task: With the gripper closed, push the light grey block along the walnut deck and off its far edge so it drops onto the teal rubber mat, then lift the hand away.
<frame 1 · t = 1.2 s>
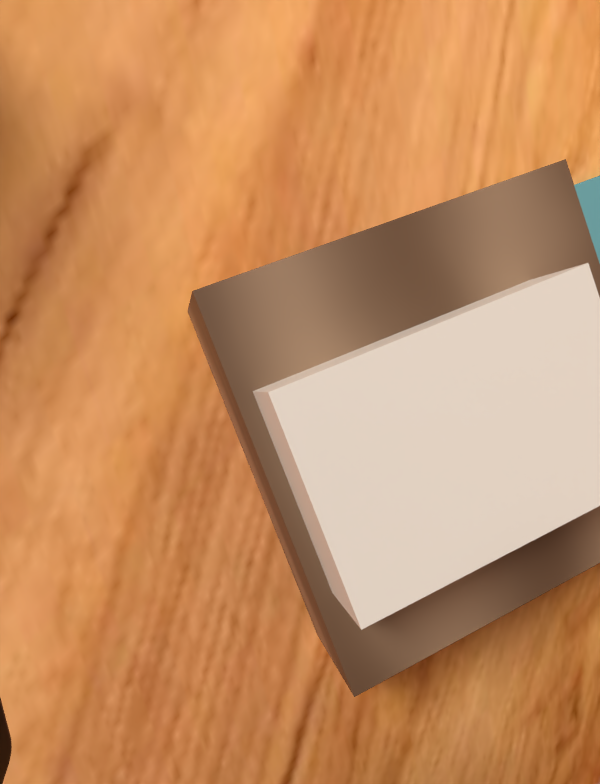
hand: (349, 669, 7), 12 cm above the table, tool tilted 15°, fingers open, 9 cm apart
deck: (407, 410, 20), on the table
light grey block: (455, 433, 15), point 5 cm above the table, touching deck
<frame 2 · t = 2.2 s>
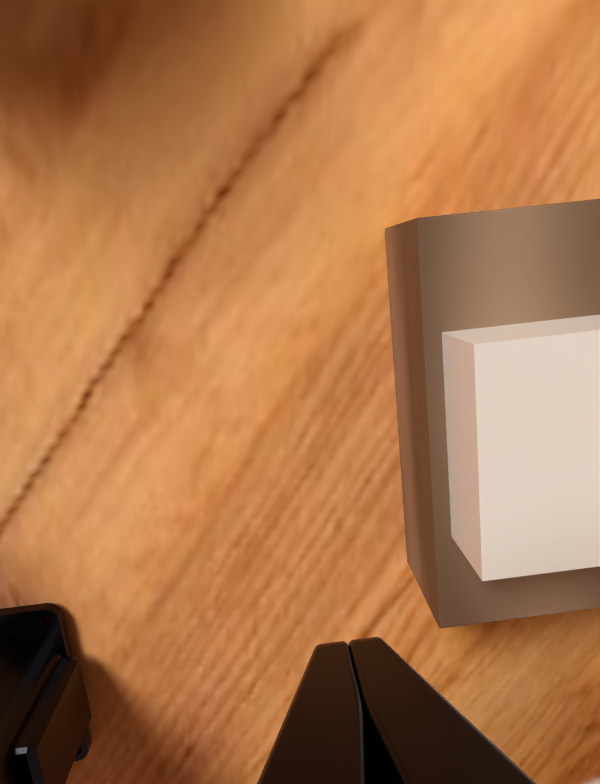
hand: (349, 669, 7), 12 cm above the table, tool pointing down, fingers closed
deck: (564, 386, 20), on the table
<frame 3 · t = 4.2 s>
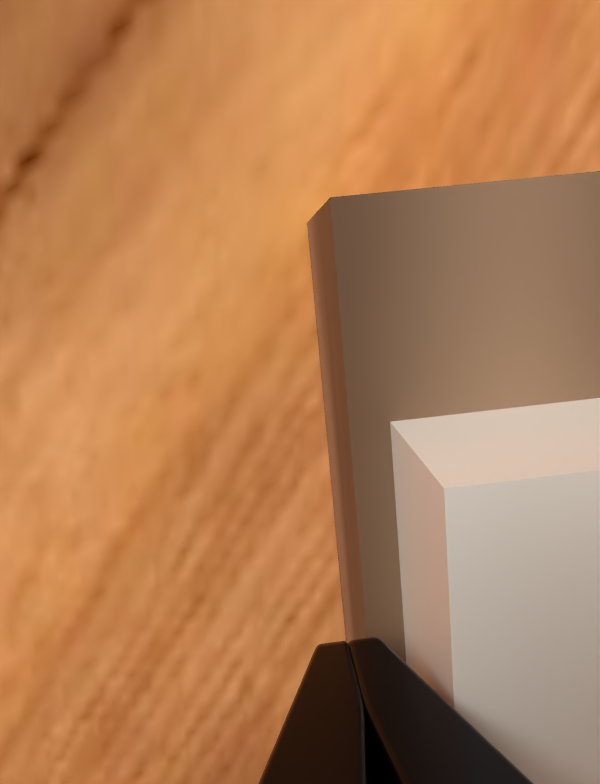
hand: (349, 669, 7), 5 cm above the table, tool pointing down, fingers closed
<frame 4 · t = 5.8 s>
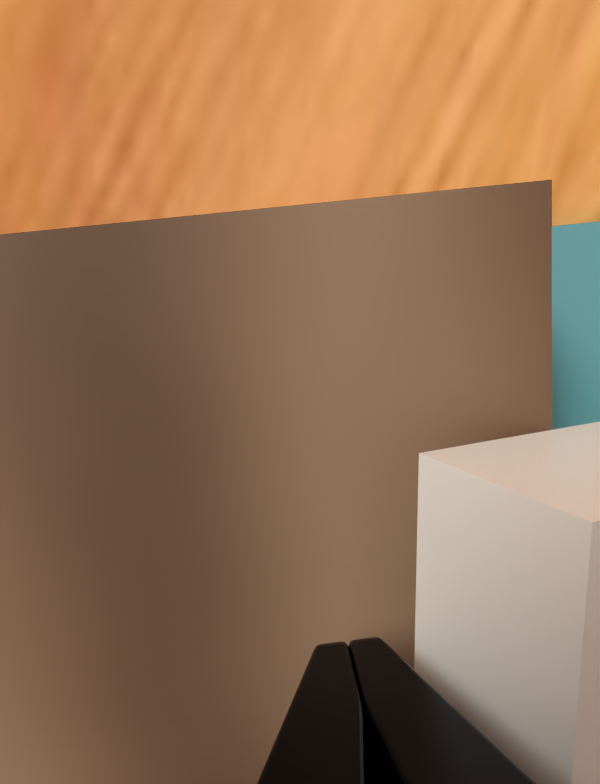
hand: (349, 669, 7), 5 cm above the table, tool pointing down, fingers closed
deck: (193, 523, 12), on the table
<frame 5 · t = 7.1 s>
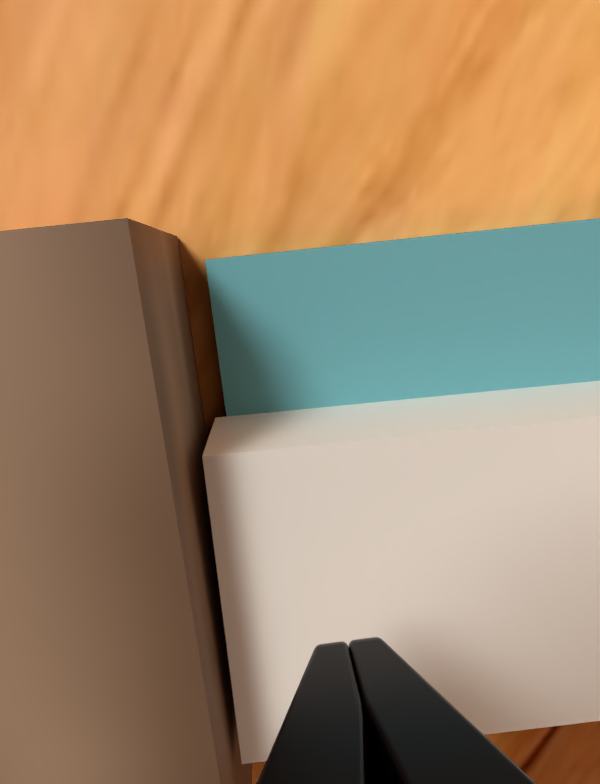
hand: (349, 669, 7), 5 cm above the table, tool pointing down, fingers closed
mat: (467, 490, 12), on the table
light grey block: (456, 558, 11), point 1 cm above the table, touching mat
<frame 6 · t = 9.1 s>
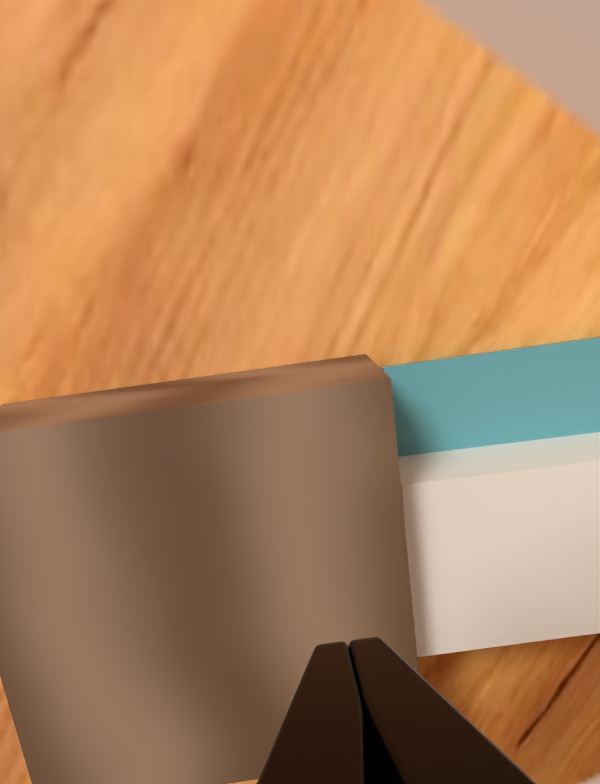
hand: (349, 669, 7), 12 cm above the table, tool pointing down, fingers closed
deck: (215, 543, 20), on the table
mat: (534, 497, 20), on the table
light grey block: (532, 538, 19), point 1 cm above the table, touching mat
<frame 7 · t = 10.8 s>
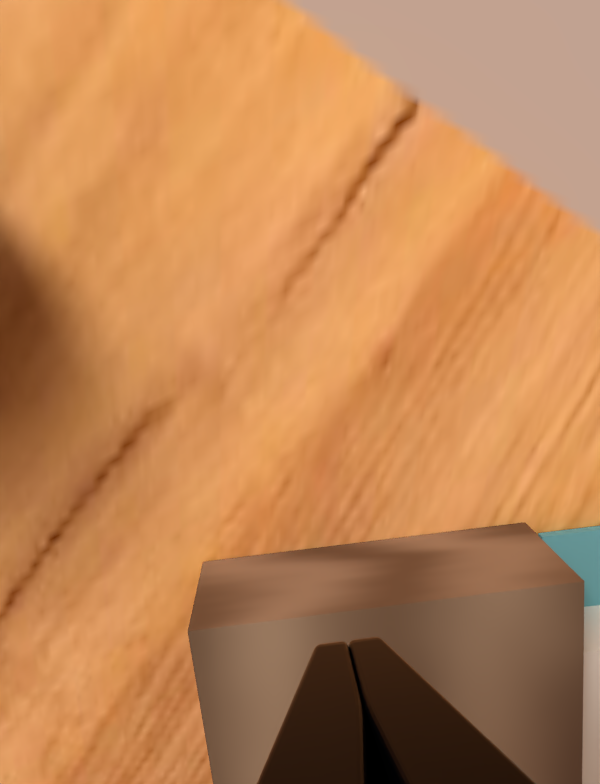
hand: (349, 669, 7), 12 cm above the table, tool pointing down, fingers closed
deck: (377, 681, 22), on the table
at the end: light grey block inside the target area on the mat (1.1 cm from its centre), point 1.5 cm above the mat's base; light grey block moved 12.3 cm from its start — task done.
